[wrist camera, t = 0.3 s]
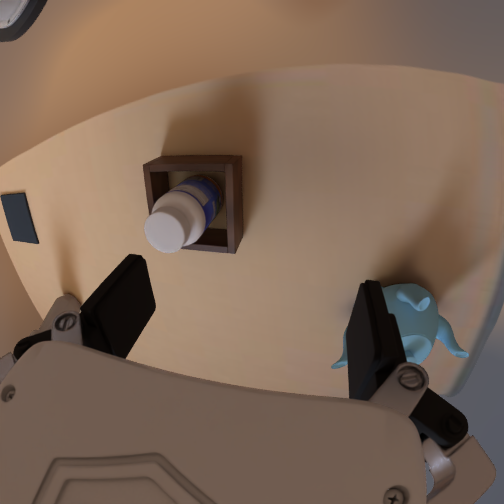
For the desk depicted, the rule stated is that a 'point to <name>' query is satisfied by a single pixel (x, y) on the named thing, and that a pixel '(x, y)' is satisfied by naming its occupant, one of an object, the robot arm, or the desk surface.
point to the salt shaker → (58, 311)
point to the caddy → (233, 184)
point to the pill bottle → (183, 213)
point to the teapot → (415, 323)
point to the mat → (19, 218)
